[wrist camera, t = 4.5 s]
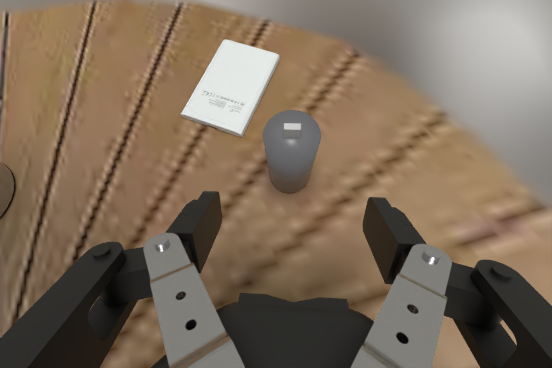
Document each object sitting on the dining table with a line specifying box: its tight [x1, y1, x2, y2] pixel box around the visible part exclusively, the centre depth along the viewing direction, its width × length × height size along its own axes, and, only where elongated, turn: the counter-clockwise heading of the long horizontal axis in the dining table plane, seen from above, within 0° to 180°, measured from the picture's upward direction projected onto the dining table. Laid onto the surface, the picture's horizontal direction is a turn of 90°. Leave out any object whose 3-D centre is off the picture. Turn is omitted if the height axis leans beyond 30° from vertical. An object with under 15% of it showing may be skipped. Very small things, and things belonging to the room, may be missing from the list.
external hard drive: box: [181, 40, 279, 138], centre depth 30 cm, size 2×8×12 cm
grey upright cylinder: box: [263, 110, 321, 193], centre depth 22 cm, size 4×4×10 cm
